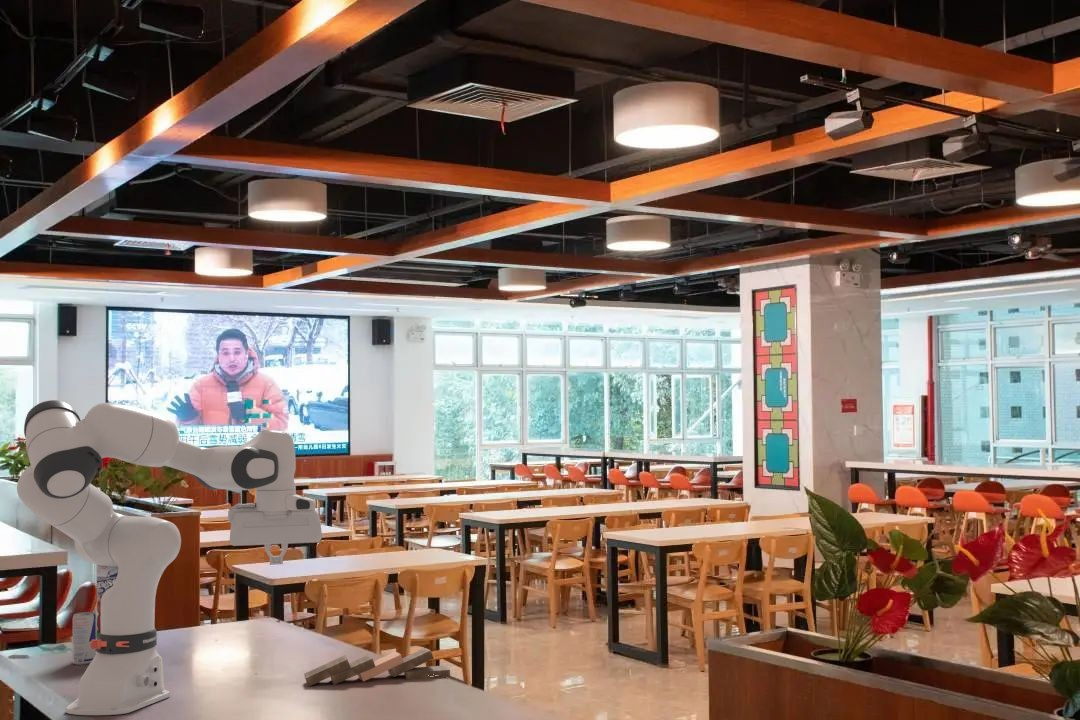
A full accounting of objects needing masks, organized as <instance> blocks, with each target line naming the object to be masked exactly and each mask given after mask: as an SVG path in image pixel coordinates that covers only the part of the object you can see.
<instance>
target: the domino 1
mask: <svg viewBox="0 0 1080 720" xmlns="http://www.w3.org/2000/svg"><path fill="white" fill-rule="evenodd" d="M349 663H350V662H349V659H348V658H347V655H346V654H344V655H343V656H340V657H338V658H336V659H334V660H332V661H329V662H327V663H325V664H323V665H320V666H318V667H316V668H314V669H312V670H309V671H307V672H305V673H303V675H304V679H305V682H306V684H307V687H311V686H313V685H316V684H317V683H320V682H322V681H324V680H327V679H328V678H331V676H333V675H335V674H338V673H340V672H342V671H344V670H346V669H349V668H351V667H350V664H349Z"/></svg>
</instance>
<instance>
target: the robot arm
mask: <svg viewBox="0 0 1080 720" xmlns="http://www.w3.org/2000/svg"><path fill="white" fill-rule="evenodd" d="M23 433H24V437H25V447H26V454H27V457H28V459H29V463H30V465H29V466H28V467H26V468H25V470H24V471H23V472H22V473H21V475H20V476H19V479H18V480H17V482H16V483H17V484H16V491H17V492H16V493H17V495H18V497H19V499H20V500H21V502H22V503H23V504H24V505H25V506H26V507H27V508H28V509H29V510H30V511H31V512H33V513H34V514H35V515H36V516H37V517H38V518H41V520H43V522H46V523H47V524H49V525H51V526H52V527H54V528H56V529H57V530H59V531H60V532H62V534H64V535H66V536H67V537H69V538H71V539H72V540H73V542H74V549H75V552H76V553H77V555H78V556H79V558H81V559H82V560H84V561H86V562H89V563H92V564H95V565H96V566H97V565H101V566H117V567H118V575H117V578H116V581H115V583H114V585H113V586H112V587H111V588H109V589H108V590H107V591H105V592H104V594H103V595H102V598H101V632H100V633H99V635H98V639H97V638H96V639H92V640H91V641H92V642H91V643H90V647H92V648H91V649H96V655H95V657H94V658H93V660H92V662H91V663H90V664H88V666H87V668H86V670H85V672H84V673H83V675H82V676H81V678H80V680H79V682H78V687H77V688H78V689H77V698H76V699H75V700H74V701H73V702H71V703H70V704H69V705H68V706H66V707H65V709H64V710H65V714H66V713H67V714H69V715H78V716H112V715H123V714H124V715H125V714H129V713H132V712H134V711H137V710H139V709H141V708H144V707H147V706H149V705H151V704H155V703H157V702H160V701H162V700H165V699H168V698H170V697H171V695H170V693H171V692H170V691H169V690H167V689H166V688H165V680H164V679H165V678H164V666H163V657H162V656H161V655H160V654H159V653H158V651H157V648H156V646H157V644H158V634H157V633H158V632H157V629H156V628H155V613H156V611H155V610H156V609H155V608H156V595H157V589H158V587H159V586H158V585H159V582H160V579H161V577H162V575H163V574H164V571H165V570H166V569H167V567H168V566H169V565H170V564H171V563H172V562H173V561H174V560H175V559H176V558H177V557H178V555H179V552H180V550H181V545H182V537H181V533H180V530H179V528H178V526H177V525H176V524H175V523H173V522H171V521H168V520H166V519H163V518H159V517H156V516H140V515H139V516H133V515H125V514H121V513H118V512H115V511H114V506H113V505H114V504H113V501H112V499H111V498H110V496H109V495H107V494H106V493H105V492H103V491H102V490H100V489H99V488H98V487H96V486H95V485H93V484H92V481H93V480H94V478H95V476H97V475H98V474H99V473H100V472H101V471H102V469H103V466H104V465H103V464H104V463H103V461H104V460H103V459H105V458H111V459H112V458H113V459H117V460H119V461H124V462H125V463H126V462H127V463H128V464H129V463H130V464H133V465H138V466H142V467H149V468H152V467H153V468H162V467H167V468H169V469H170V468H171V469H174V470H175V471H180V472H182V473H186V474H188V475H190V476H192V477H193V478H195V480H197V482H198V483H200V484H201V486H203V487H205V488H206V489H207V490H208V489H209V490H211V491H221V490H222V491H224V490H231V491H232V490H234V491H238V490H239V491H250V490H254V489H255V502H249V503H235V504H234V505H232V506H230V507H229V509H228V511H227V520H228V522H229V524H230V530H229V531H230V532H229V543H230V544H231V545H232V546H233V547H236V546H237V547H238V546H243V547H244V546H261V545H264V551H265V553H266V554H267V556H268V558H269V566H271V565H272V566H273V565H275V566H276V565H283V564H284V558H283V557H284V556H285V555H286V552H287V551H288V549H289V547H288V546H289V544H305V543H306V544H309V543H319V542H320V541H321V540H322V539H323V534H322V532H323V531H322V525H321V524H322V523H321V519H320V515H319V514H318V512H317V511H316V510H315V509H316V506H317V505H316V504H317V502H316V500H315V499H314V498H311V497H307V496H304V495H303V494H301V495H299V494H297V492H296V491H297V490H296V489H297V486H296V482H295V474H296V469H297V467H296V465H297V463H296V462H297V461H296V447H295V443H294V439H293V437H292V435H291V434H289V433H288V432H284V431H281V430H273V429H271V430H270V429H265V430H263V429H262V430H260V431H259V432H258V433H257V434H256V435H255V436H254V437H253V438H252V439H250V440H249V441H246V442H244V443H243V444H241V445H239V446H238V445H237V446H235V445H233V446H232V445H231V446H230V445H229V446H226V445H216V444H215V445H209V446H203V447H201V446H198V445H195V444H193V443H190V442H186V441H184V440H181V439H180V436H179V435H180V434H179V430H178V428H177V426H176V424H175V422H173V421H171V420H170V419H168V418H166V417H164V416H162V415H160V414H158V413H155V412H152V411H149V410H146V409H143V408H140V407H135V406H133V405H132V406H131V405H127V404H123V403H122V404H120V403H113V402H101V403H97V404H95V405H93V407H92V408H90V409H89V411H88V412H87V413H86V414H85V416H84V418H83V419H81V418H80V416H79V414H78V412H77V411H76V410H75V408H74V407H73V406H72V405H70V404H69V403H67V402H65V401H63V400H56V399H55V400H52V399H51V400H46V401H42V402H40V403H37V404H36V405H35V406H33V407H32V408H30V409H29V411H28V412H27V414H26V417H25V420H24V426H23ZM272 545H281V549H282V550H281V552H280V554H279V555H273V554H272V553H271V549H272Z"/></svg>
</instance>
